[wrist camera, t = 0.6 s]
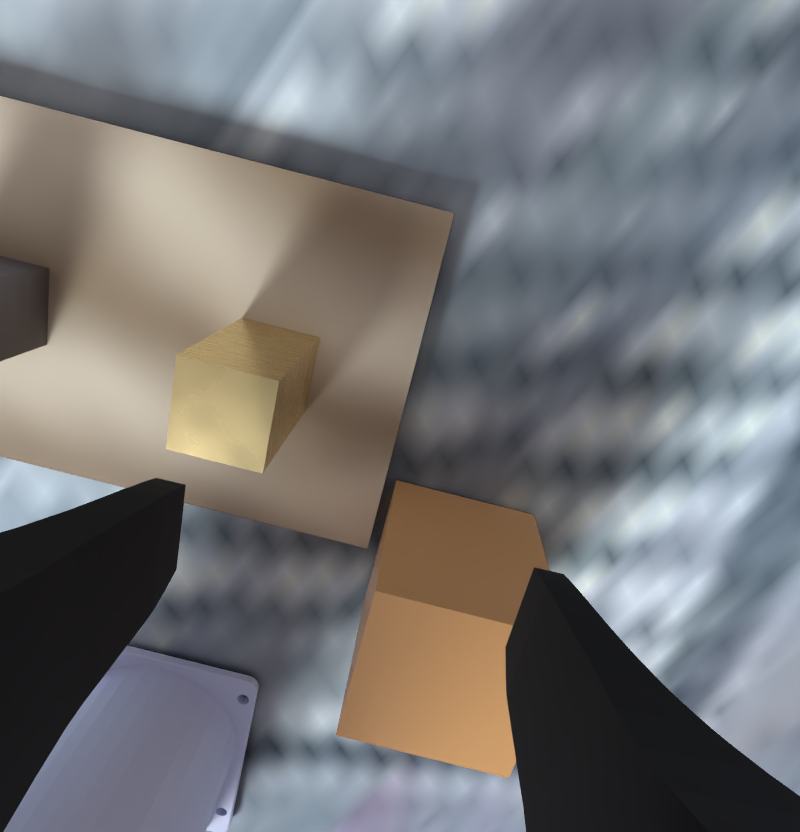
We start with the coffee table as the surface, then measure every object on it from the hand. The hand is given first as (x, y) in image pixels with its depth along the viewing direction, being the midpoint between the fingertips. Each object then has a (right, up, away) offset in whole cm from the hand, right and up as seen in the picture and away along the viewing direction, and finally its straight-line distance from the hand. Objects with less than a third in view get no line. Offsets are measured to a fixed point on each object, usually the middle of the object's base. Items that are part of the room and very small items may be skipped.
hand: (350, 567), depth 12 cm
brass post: (-3, +5, +8) cm, 10 cm away
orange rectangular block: (+3, -2, +11) cm, 11 cm away
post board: (-7, +6, +8) cm, 13 cm away
